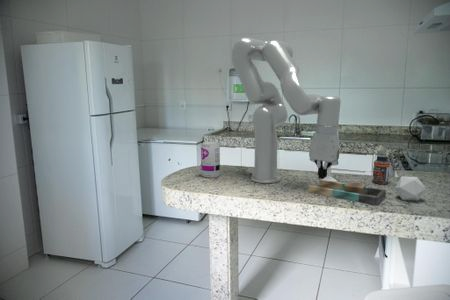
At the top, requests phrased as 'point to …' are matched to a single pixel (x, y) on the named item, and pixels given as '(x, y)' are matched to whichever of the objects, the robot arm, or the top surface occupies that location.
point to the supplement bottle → (381, 170)
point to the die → (410, 188)
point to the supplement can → (210, 159)
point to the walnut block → (355, 188)
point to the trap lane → (351, 196)
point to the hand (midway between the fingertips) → (321, 177)
